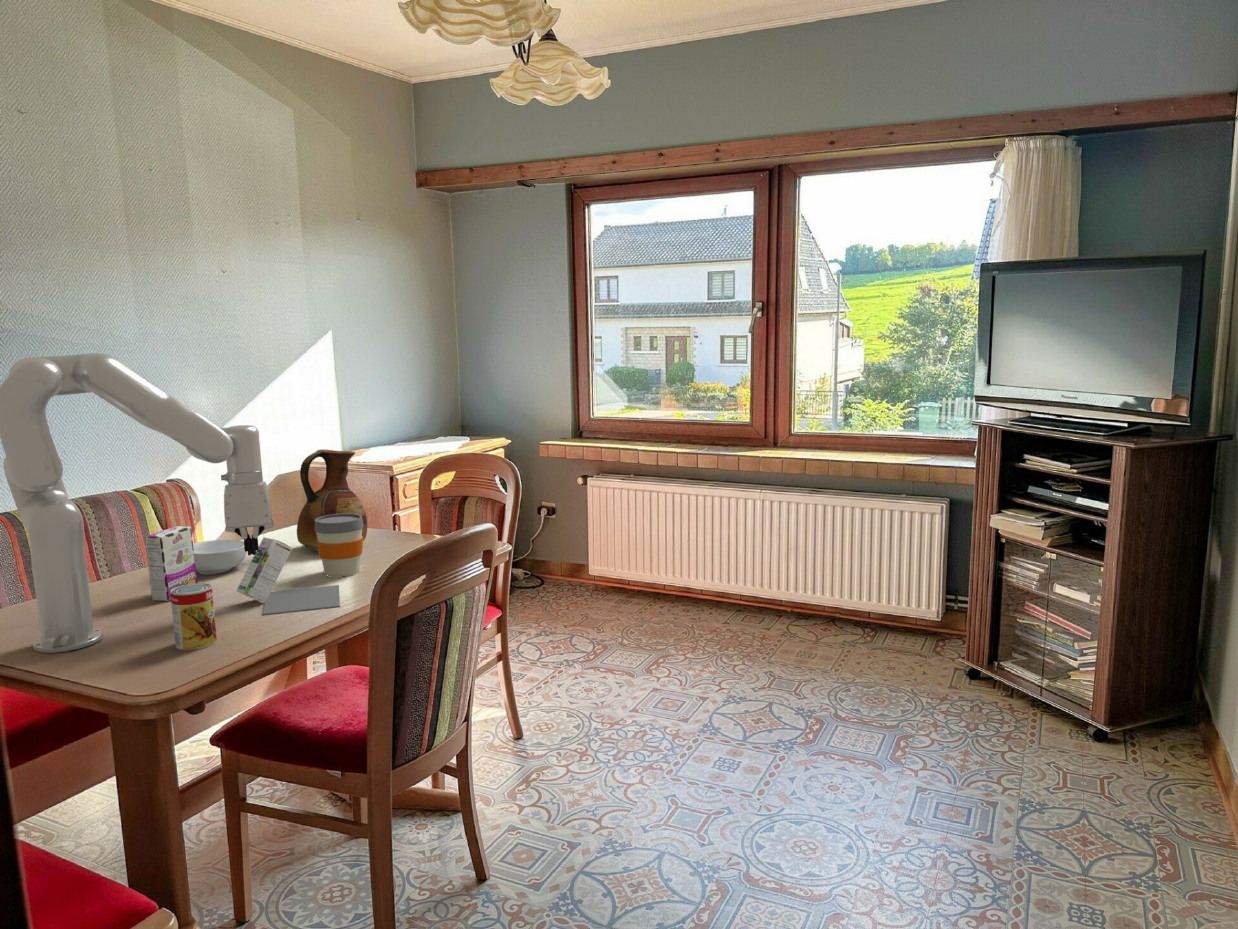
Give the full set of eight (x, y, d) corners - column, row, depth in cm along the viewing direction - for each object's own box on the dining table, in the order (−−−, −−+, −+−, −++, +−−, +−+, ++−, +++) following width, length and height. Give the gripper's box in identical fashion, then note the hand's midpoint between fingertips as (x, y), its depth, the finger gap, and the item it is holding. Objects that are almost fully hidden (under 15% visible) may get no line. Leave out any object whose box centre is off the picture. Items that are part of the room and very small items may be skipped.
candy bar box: (181, 588, 226) (175, 525, 224) (198, 588, 225) (192, 526, 223) (150, 601, 215) (143, 535, 213) (168, 602, 214) (161, 536, 212)
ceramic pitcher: (380, 547, 264) (374, 448, 260) (316, 560, 251) (308, 456, 246) (349, 537, 279) (343, 443, 274) (287, 548, 265) (279, 450, 260)
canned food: (223, 642, 186) (218, 587, 184) (185, 653, 180) (180, 596, 178) (206, 634, 191) (201, 580, 189) (169, 644, 185) (163, 589, 183)
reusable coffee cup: (357, 579, 232) (354, 523, 229) (310, 579, 232) (306, 523, 230) (372, 566, 244) (369, 513, 242) (327, 566, 244) (323, 513, 242)
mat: (339, 606, 209) (339, 605, 209) (262, 615, 203) (262, 613, 203) (338, 586, 226) (338, 584, 225) (267, 593, 220) (267, 592, 220)
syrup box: (235, 591, 212) (262, 535, 216) (256, 599, 216) (282, 544, 220) (245, 594, 208) (273, 537, 212) (267, 603, 212) (293, 547, 216)
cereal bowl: (254, 572, 240) (252, 547, 239) (187, 583, 231) (185, 556, 229) (241, 559, 254) (238, 535, 253) (177, 569, 244) (174, 544, 243)
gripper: (208, 483, 202) (216, 561, 205) (278, 478, 206) (284, 554, 209) (212, 477, 209) (219, 553, 212) (280, 473, 213) (286, 547, 216)
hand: (252, 553), depth 210 cm, fingers closed
